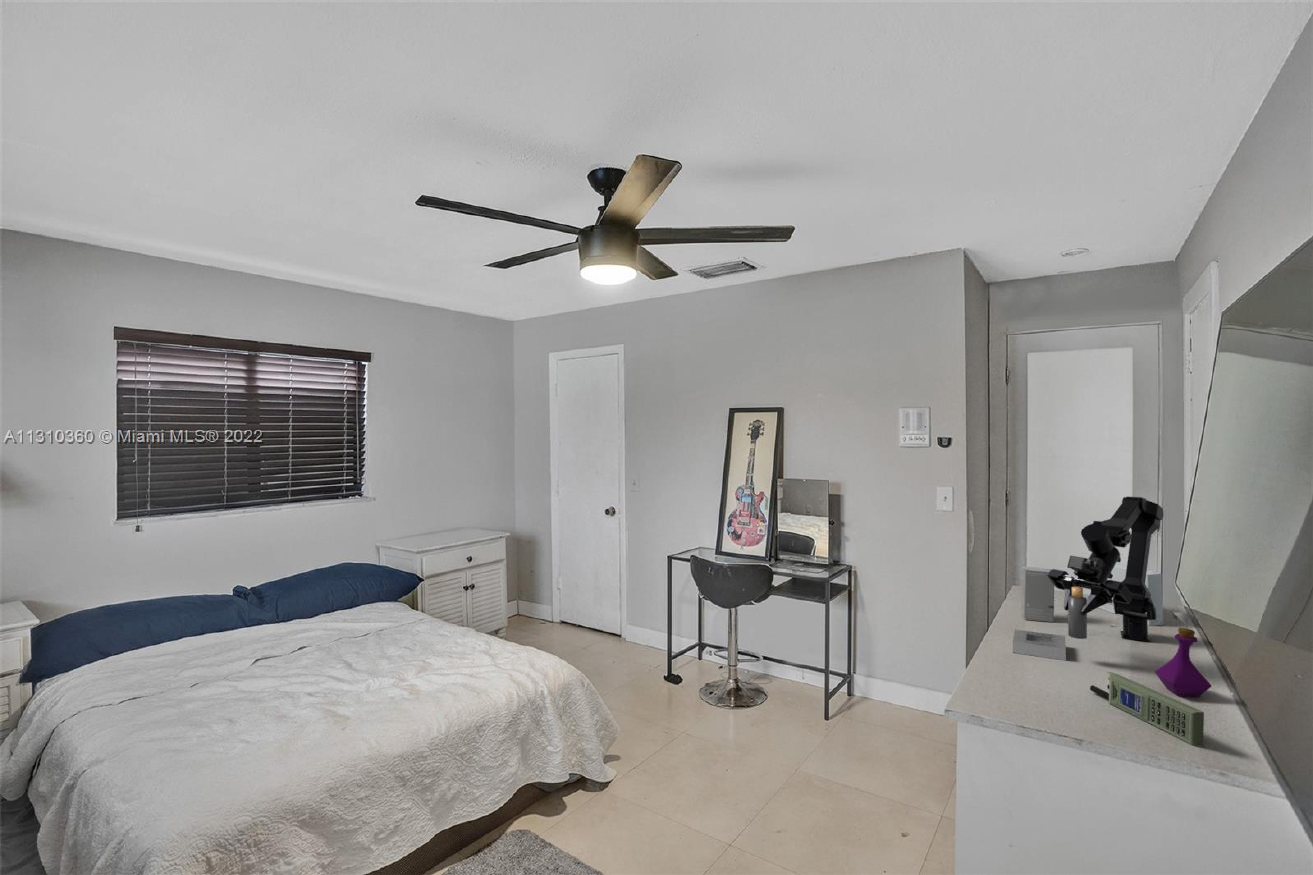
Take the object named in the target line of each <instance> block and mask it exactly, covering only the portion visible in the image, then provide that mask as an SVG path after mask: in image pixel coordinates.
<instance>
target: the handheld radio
mask: <svg viewBox="0 0 1313 875" xmlns="http://www.w3.org/2000/svg"><path fill="white" fill-rule="evenodd" d="M1107 674H1109V676H1108V677H1107V679H1108V680H1109V683H1108V684H1107V689H1108V690H1109V691H1108V692H1107V691H1105V690H1103V689H1102V688H1099V687H1098V686H1096V685H1090V686H1089V690H1090V691H1091V692H1093V693H1095V694H1097V695H1099V696H1101V697H1103V698H1105V699H1107V701H1106V702H1107V703H1108V705H1111V706H1113V707H1115V708H1117V709H1119V710H1121V711H1122V712H1125V713H1126V714H1129V715H1130V716H1133V717H1135V718H1137V719H1138V720H1140V721H1143V722H1145V723H1147V724H1149V723H1150V724H1149V725H1151V724H1152V725H1151V726H1153V727H1155V728H1157V729H1159V728H1160V729H1159V730H1161V729H1162V730H1161V731H1163V732H1165V733H1167V732H1168V733H1167V734H1169V733H1170V734H1169V735H1171V736H1173V737H1175V738H1177V737H1178V738H1177V739H1179V738H1180V739H1179V740H1181V741H1183V742H1184V743H1187V744H1189V743H1190V744H1189V745H1191V746H1193V747H1198V746H1197V745H1203V746H1204V731H1205V730H1204V728H1205V727H1204V726H1205V724H1204V723H1205V722H1204V721H1205V712H1204V711H1203V710H1201V709H1198V708H1196V707H1193V706H1191V705H1189V704H1186V703H1185V702H1182V701H1180V700H1178V699H1175V698H1173V697H1170V696H1168V695H1166V694H1164V693H1162V692H1160V691H1157V690H1155V689H1153V688H1150V687H1148V686H1146V685H1144V684H1142V683H1139V682H1138V681H1135V680H1132V679H1129V678H1128V677H1125V676H1123V675H1121V674H1118V673H1115V672H1112V671H1107Z"/></svg>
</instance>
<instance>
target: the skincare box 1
mask: <svg viewBox="0 0 1313 875" xmlns="http://www.w3.org/2000/svg"><path fill="white" fill-rule="evenodd" d="M1021 570H1022V571H1021V576H1022V578H1021V586H1022V587H1021V615H1022V617H1023V618H1024V620H1025V621H1036V622H1049V623H1054V620H1055V585H1054V584H1053V583H1052V582H1051V580H1050V579H1049V578H1048V576H1047V575H1048V573H1049V572H1050V570H1052V569H1051V568H1044V567H1043V568H1042V567H1036V566H1035V567H1032V566H1021Z"/></svg>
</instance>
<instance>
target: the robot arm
mask: <svg viewBox="0 0 1313 875" xmlns="http://www.w3.org/2000/svg"><path fill="white" fill-rule="evenodd" d="M1163 519H1164V509H1163V507H1162V506H1161V505H1159V504H1158V503H1156V502H1153V501H1150V500H1148V499H1146V498H1144V497H1141V496H1124V497H1123V498H1122V500H1121V503H1120V505H1119V507H1118V508H1117V509H1116V511H1115V512H1114V513H1113V514H1112V516H1111V517H1110V518H1109V519H1105V520H1102V521H1101V520H1100V521H1099V520H1093V523H1091V524H1088V525H1086V526H1084V527H1083V528H1082V529H1081V532H1080V535H1081V537H1082V539H1083V542H1084V543H1085V546H1086V548H1087V549H1088V551H1089V552H1091V553H1090V555H1089V556H1088V558H1086V557H1083V556H1076V555H1069V560H1068V562H1067V566H1066V567H1067V568H1068V569H1071V570H1073V574H1074V575H1075V576H1076V577H1077V578H1076V577H1074V576H1072V575H1070V574H1069V572H1067V571H1066V570H1060V569H1055V568H1053V569H1051V570H1050V572H1049V573H1048V575H1047V576H1048V578H1049V579H1050V580H1051V582H1052V583H1053V584H1054V588H1056V589H1058V590H1062V591H1064V602H1063V609H1064V610H1065V611H1068V596H1072V587H1081V588H1083V589H1086V590H1090V594H1089V595H1088V598H1087V601H1086V602H1085V604H1084V606H1083V608H1082V611H1081V613H1082V614H1083V615H1085V614H1087V615H1088V614H1089V613H1090V612H1092V611H1094V610H1096V609H1099V608H1098V607H1100V606H1102V605H1104V604H1107V603H1112V602H1113V604H1114V610H1115V615H1117V614H1120V615H1123V616H1122V630H1120V636H1121V638H1122V639H1123V640H1124V639H1125V640H1134V641H1140V642H1141V641H1143V642H1148V643H1149V642H1150V643H1151V642H1152V641H1151V637H1150V634H1149V632H1148V630H1149V629H1148V628H1149V626H1148V620H1156V609H1155V606H1154V604H1153V602H1152V599H1151V594H1150V592H1149V590H1148V588H1147V586H1146V585H1145V580H1146V572H1147V570H1148V565H1149V564H1148V563H1149V555H1150V549H1151V548H1150V547H1151V540H1152V535H1153V534H1154V533H1155V532H1156V531H1157V530H1158V529H1159V528H1160V525H1161V521H1162V520H1163ZM1130 529H1131V530H1130ZM1130 531H1131V532H1130ZM1128 545H1129V548H1128V549H1129V550H1128V556H1127V562H1126V565H1127V569H1126V576H1125V579H1124V580H1123V581H1122V582H1118V581H1113V580H1107V579H1108V578H1110V579H1112V577H1113V575H1112V574H1111V572H1112V570H1113V568H1114V566H1115V564H1116V562H1118V563H1121V561H1122V560H1121V553H1120V551H1119V549H1118V548H1126V547H1127V546H1128ZM1112 598H1113V600H1112ZM1146 612H1147V614H1146ZM1120 615H1119V616H1120Z"/></svg>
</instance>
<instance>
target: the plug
mask: <svg viewBox="0 0 1313 875" xmlns="http://www.w3.org/2000/svg"><path fill="white" fill-rule="evenodd" d="M1087 599H1088V598H1087V597H1085V596H1084V588H1081V587H1072V596H1068V610H1067V612H1068V613H1067V615H1068V616H1067V618H1068V620H1067V622H1068V623H1067V624H1068V625H1067V628H1068V631H1067V632H1068V635H1067V636H1069V637H1070V638H1073V639H1077V640H1078V639H1080V640H1085V639H1087V638H1088V613H1087V614H1085V615H1083V614H1082V613H1081V611H1082V608H1083V606H1084V604H1085V602H1086V601H1087Z"/></svg>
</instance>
